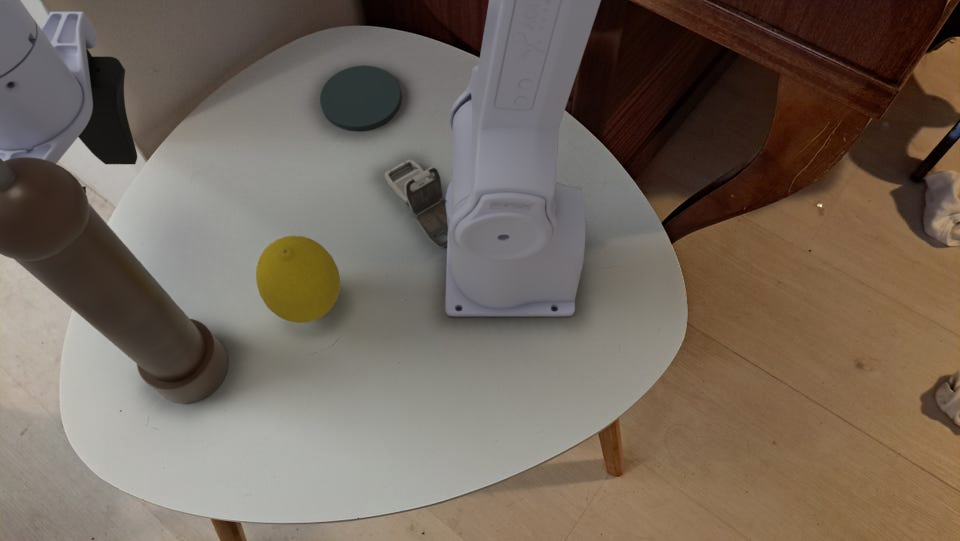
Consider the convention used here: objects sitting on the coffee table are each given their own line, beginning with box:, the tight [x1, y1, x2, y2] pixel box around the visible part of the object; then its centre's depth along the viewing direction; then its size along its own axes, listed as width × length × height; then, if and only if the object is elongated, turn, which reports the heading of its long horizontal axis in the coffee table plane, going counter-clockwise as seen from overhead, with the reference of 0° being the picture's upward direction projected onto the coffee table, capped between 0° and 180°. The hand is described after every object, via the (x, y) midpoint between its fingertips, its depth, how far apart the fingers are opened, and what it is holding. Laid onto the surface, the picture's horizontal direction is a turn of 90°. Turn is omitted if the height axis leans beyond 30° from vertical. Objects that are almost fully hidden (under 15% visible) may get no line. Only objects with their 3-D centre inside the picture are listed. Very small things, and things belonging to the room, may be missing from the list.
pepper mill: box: [0, 157, 229, 404], centre depth 41 cm, size 5×5×24 cm
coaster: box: [319, 65, 402, 132], centre depth 63 cm, size 7×7×1 cm
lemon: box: [255, 235, 341, 324], centre depth 50 cm, size 6×6×8 cm
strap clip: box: [384, 159, 448, 249], centre depth 56 cm, size 8×3×4 cm, turn 35°
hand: (108, 204), depth 47 cm, fingers open, 6 cm apart
